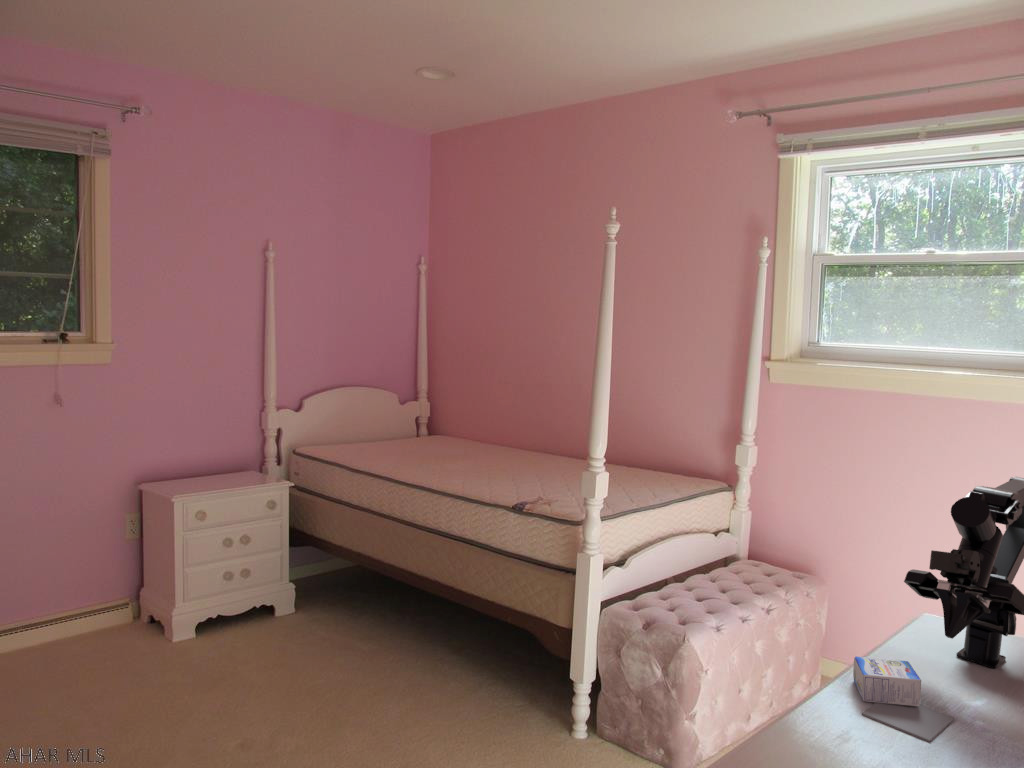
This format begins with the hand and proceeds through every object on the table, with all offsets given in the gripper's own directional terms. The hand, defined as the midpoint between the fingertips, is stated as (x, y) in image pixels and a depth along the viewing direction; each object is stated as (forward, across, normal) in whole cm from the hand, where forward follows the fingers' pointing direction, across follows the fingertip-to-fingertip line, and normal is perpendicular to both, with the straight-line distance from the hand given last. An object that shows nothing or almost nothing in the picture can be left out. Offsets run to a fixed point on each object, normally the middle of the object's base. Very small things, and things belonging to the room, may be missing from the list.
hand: (948, 637), depth 137 cm
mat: (+16, +2, -6) cm, 17 cm away
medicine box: (+10, -1, -2) cm, 10 cm away
